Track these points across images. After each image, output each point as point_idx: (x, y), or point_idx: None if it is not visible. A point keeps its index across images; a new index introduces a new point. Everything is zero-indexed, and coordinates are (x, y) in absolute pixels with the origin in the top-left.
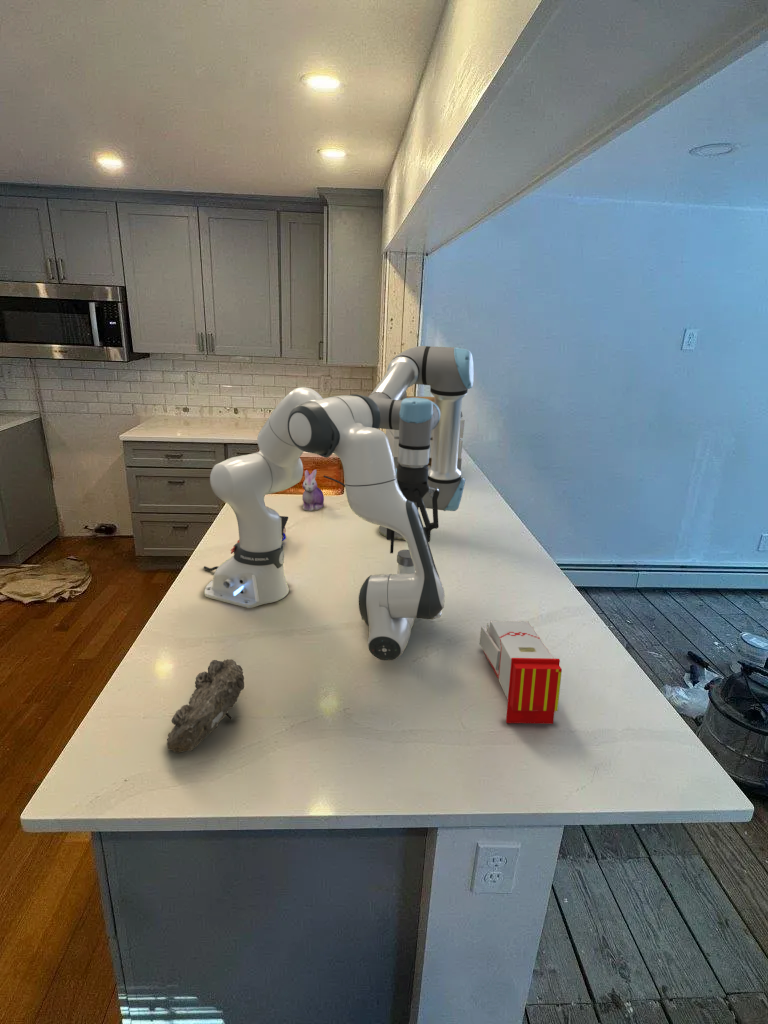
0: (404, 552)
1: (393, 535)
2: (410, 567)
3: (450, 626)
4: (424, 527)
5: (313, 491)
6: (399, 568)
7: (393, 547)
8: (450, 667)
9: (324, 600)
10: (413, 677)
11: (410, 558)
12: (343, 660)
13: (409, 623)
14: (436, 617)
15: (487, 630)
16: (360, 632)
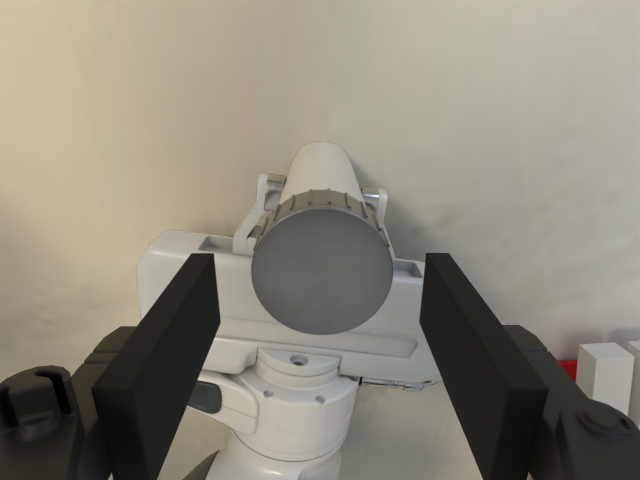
0: (300, 262)
1: (171, 429)
2: None
3: (472, 251)
4: (527, 396)
5: None
6: None
7: (209, 314)
8: (436, 422)
9: (15, 130)
10: (347, 457)
11: (342, 328)
12: (181, 422)
13: (337, 458)
14: (429, 384)
15: (582, 357)
16: None
